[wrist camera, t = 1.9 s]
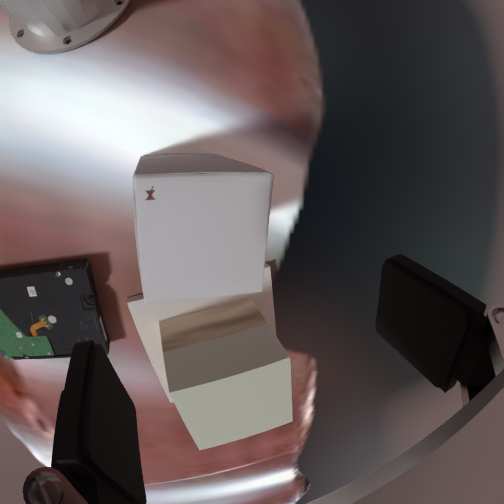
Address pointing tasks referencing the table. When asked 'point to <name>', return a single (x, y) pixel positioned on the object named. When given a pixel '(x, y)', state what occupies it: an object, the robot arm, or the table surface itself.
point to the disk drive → (49, 310)
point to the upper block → (231, 386)
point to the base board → (155, 312)
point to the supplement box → (200, 226)
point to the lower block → (209, 324)
